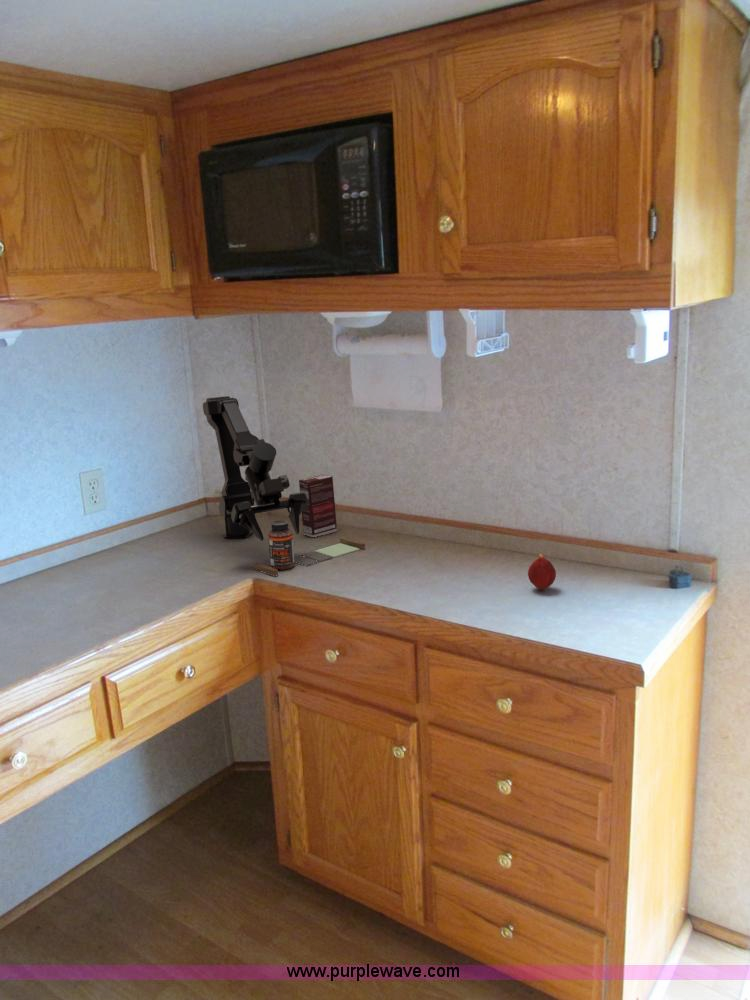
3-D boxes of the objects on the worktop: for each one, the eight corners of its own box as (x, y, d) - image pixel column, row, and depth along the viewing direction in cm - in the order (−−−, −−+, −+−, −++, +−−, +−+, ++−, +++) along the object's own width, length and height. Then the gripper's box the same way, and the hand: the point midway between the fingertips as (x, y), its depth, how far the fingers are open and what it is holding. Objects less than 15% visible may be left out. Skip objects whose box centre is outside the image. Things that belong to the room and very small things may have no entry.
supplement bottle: (272, 572, 199) (268, 526, 196) (269, 564, 205) (265, 520, 202) (296, 569, 200) (293, 524, 198) (293, 561, 206) (289, 518, 203)
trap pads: (306, 566, 202) (306, 565, 202) (287, 559, 208) (287, 558, 208) (332, 558, 207) (332, 557, 207) (312, 552, 213) (312, 551, 213)
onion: (561, 589, 177) (561, 553, 175) (545, 596, 173) (545, 560, 171) (538, 583, 181) (538, 548, 179) (522, 591, 177) (522, 555, 175)
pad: (333, 557, 207) (333, 556, 207) (314, 551, 213) (314, 550, 213) (359, 549, 213) (359, 548, 213) (340, 544, 219) (340, 543, 218)
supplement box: (327, 528, 234) (323, 473, 230) (337, 531, 230) (333, 476, 227) (302, 535, 229) (297, 479, 225) (312, 538, 225) (308, 481, 221)
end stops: (274, 577, 195) (274, 570, 195) (253, 569, 202) (253, 563, 201) (365, 549, 213) (364, 543, 213) (343, 542, 220) (342, 537, 219)
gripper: (229, 470, 197) (249, 525, 190) (302, 460, 205) (323, 512, 198) (223, 497, 206) (241, 550, 199) (293, 486, 214) (313, 536, 207)
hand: (280, 536), depth 200 cm, fingers open, 9 cm apart
